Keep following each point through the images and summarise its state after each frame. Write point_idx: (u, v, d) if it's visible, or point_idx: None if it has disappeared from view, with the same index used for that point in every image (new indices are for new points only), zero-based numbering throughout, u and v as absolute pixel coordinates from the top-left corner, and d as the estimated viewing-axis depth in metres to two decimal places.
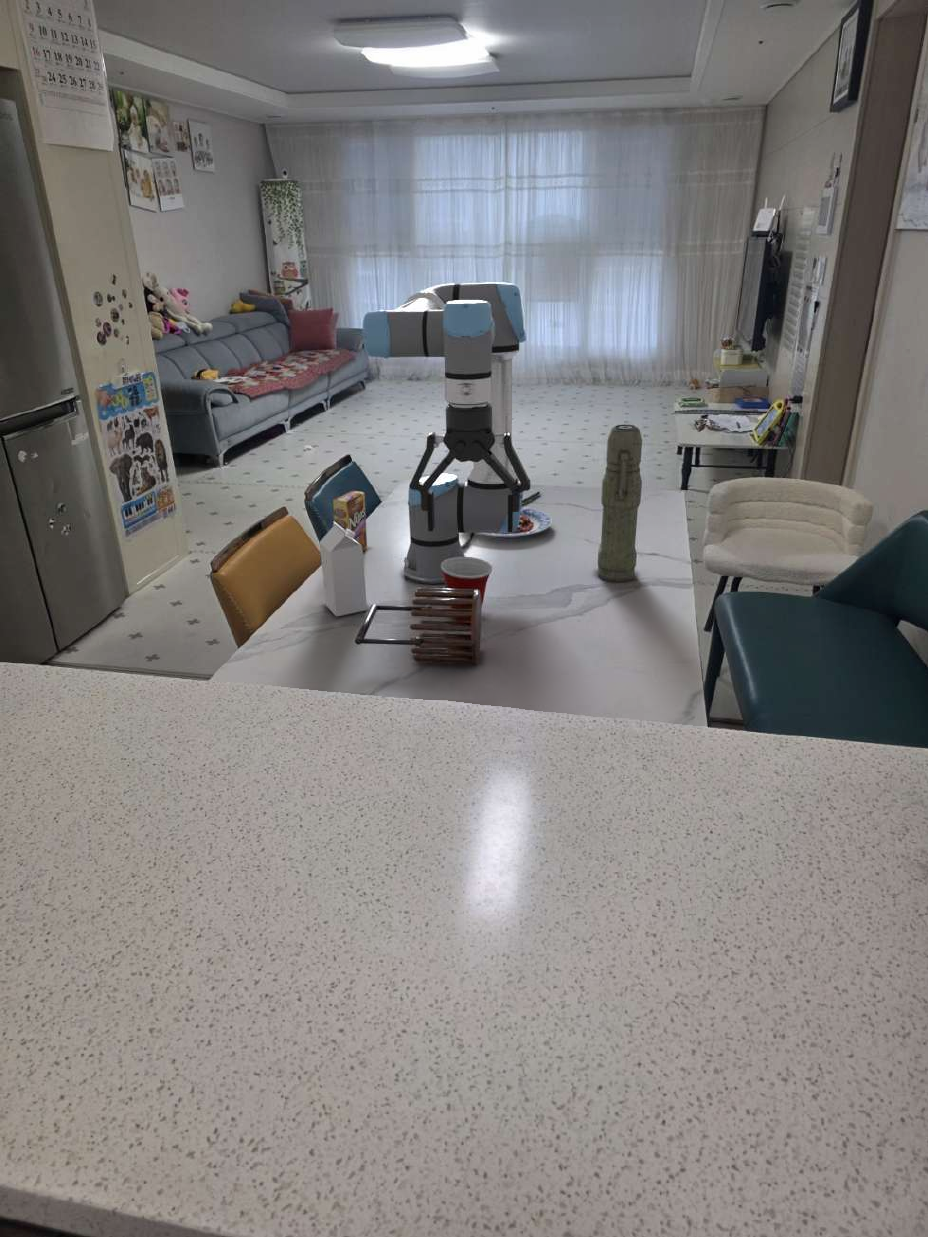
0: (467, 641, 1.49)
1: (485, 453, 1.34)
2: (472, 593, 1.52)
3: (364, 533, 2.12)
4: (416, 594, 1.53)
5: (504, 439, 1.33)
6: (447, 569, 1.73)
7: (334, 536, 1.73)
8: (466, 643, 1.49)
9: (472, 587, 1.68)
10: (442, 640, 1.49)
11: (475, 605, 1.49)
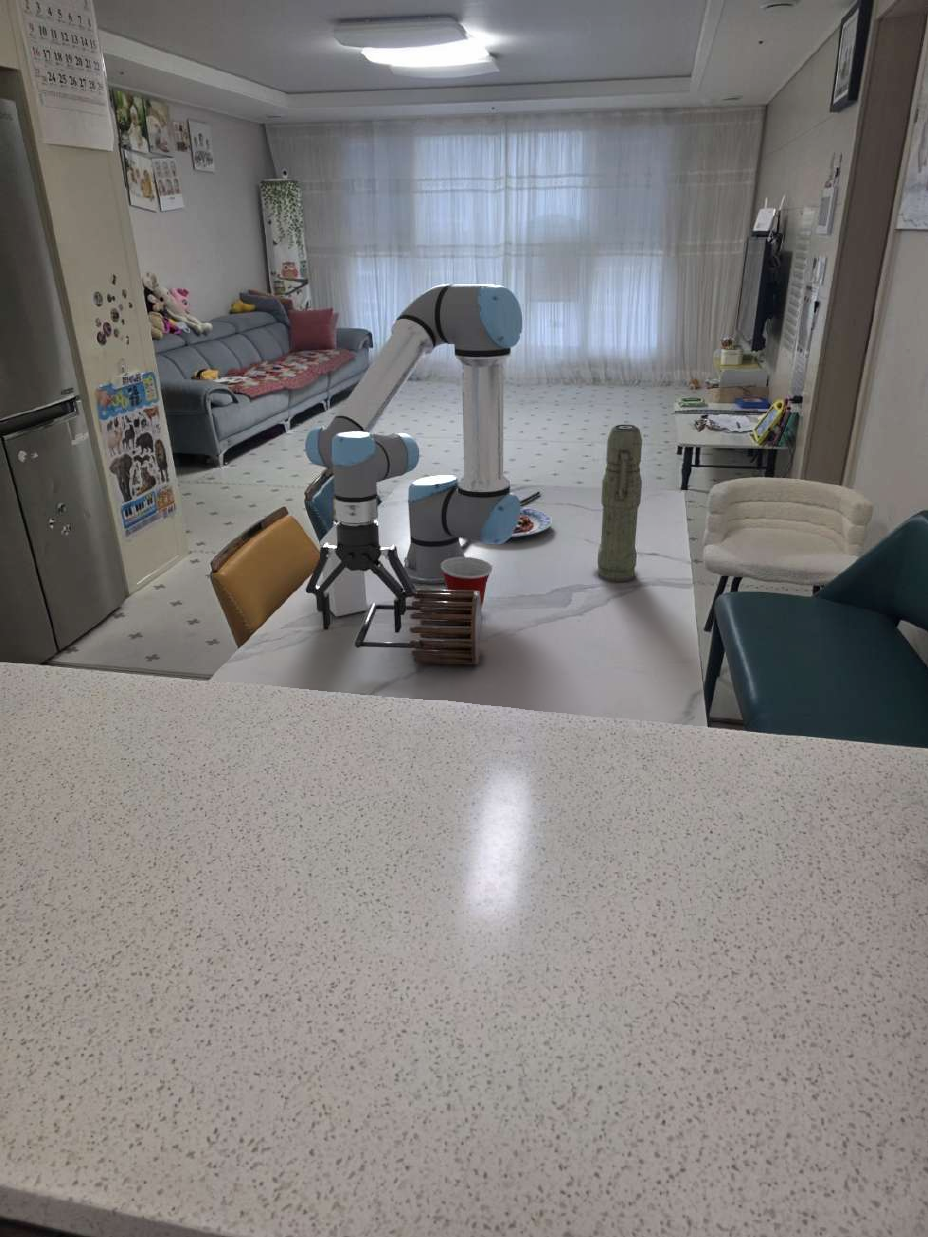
0: (467, 644, 1.49)
1: (372, 564, 1.49)
2: (472, 595, 1.51)
3: None
4: (415, 596, 1.52)
5: (388, 552, 1.49)
6: (447, 569, 1.73)
7: (334, 536, 1.73)
8: (466, 646, 1.49)
9: (472, 587, 1.68)
10: (442, 643, 1.49)
11: (475, 608, 1.49)
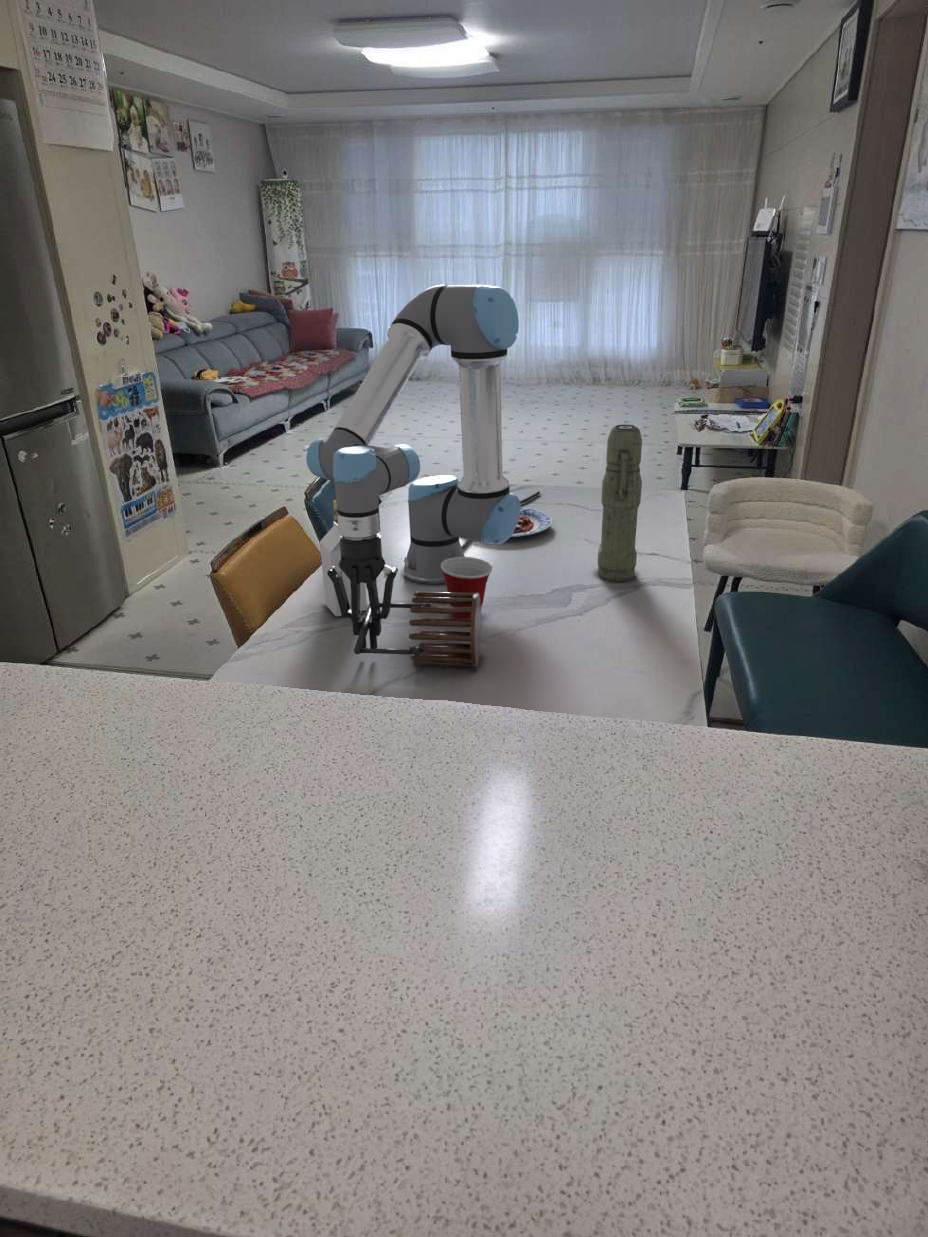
0: (466, 650, 1.48)
1: (370, 580, 1.51)
2: (471, 599, 1.50)
3: None
4: (414, 601, 1.51)
5: (390, 573, 1.51)
6: (447, 569, 1.73)
7: (334, 536, 1.73)
8: (465, 652, 1.48)
9: (472, 587, 1.68)
10: (441, 649, 1.49)
11: (474, 614, 1.48)
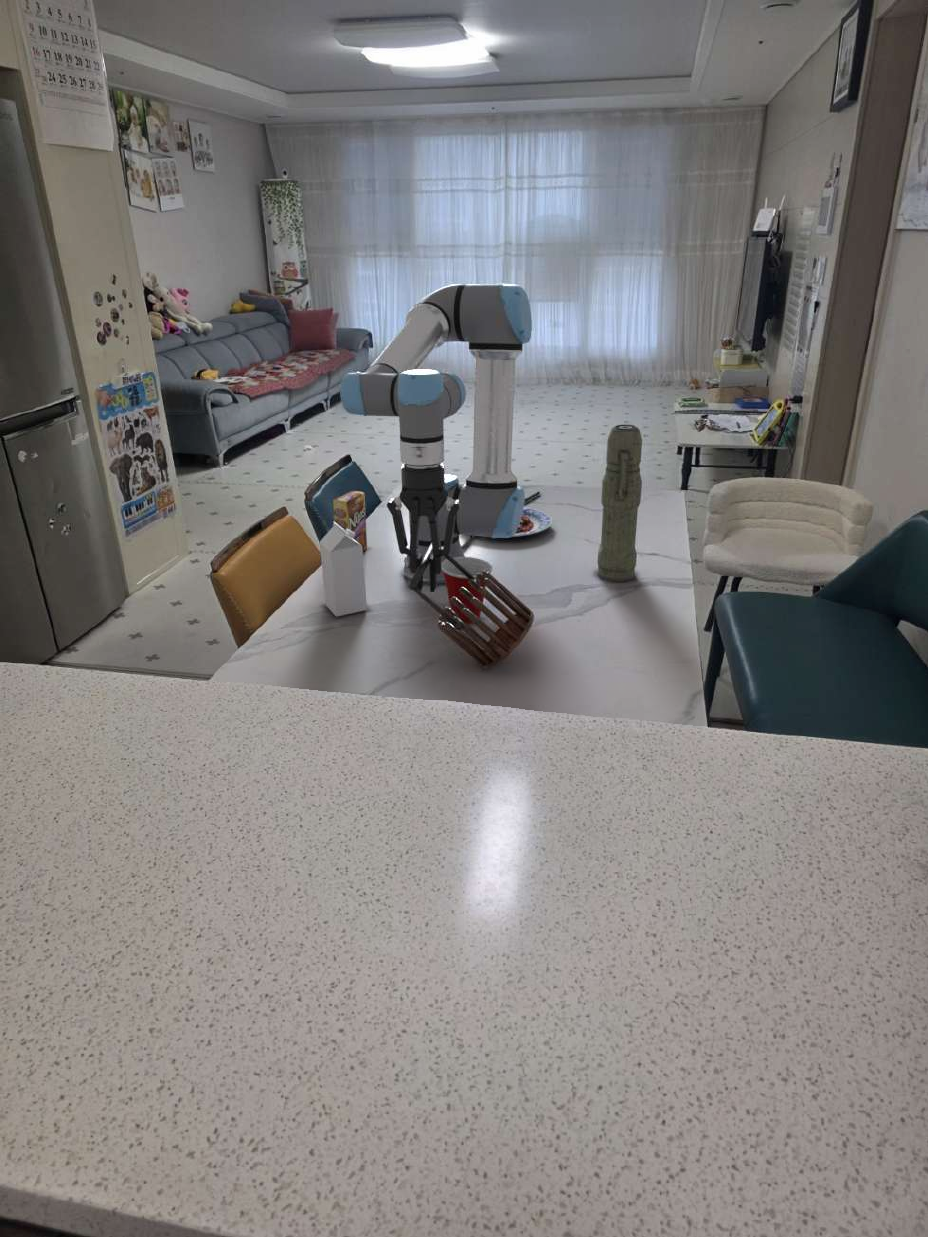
0: (496, 656, 1.48)
1: (432, 512, 1.44)
2: (529, 618, 1.50)
3: (364, 533, 2.12)
4: (486, 582, 1.47)
5: (453, 506, 1.44)
6: (447, 569, 1.73)
7: (334, 536, 1.73)
8: (493, 656, 1.48)
9: (472, 587, 1.68)
10: (478, 640, 1.47)
11: (525, 633, 1.48)
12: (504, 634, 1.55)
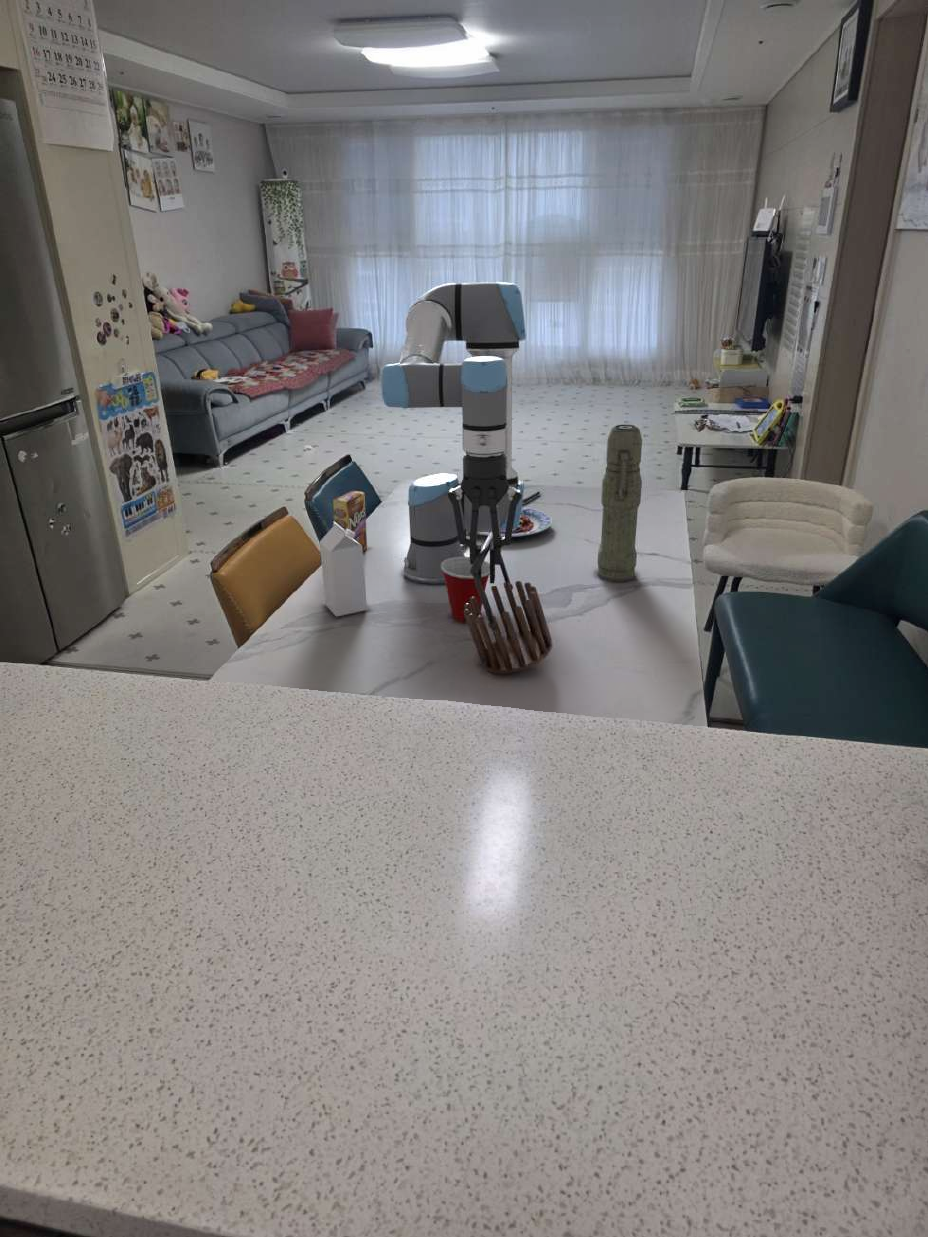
0: (509, 666, 1.49)
1: (494, 502, 1.42)
2: (550, 644, 1.53)
3: (364, 533, 2.12)
4: (533, 596, 1.48)
5: (516, 495, 1.42)
6: (447, 569, 1.73)
7: (334, 536, 1.73)
8: (506, 666, 1.49)
9: (472, 587, 1.68)
10: (502, 645, 1.47)
11: (543, 657, 1.51)
12: None
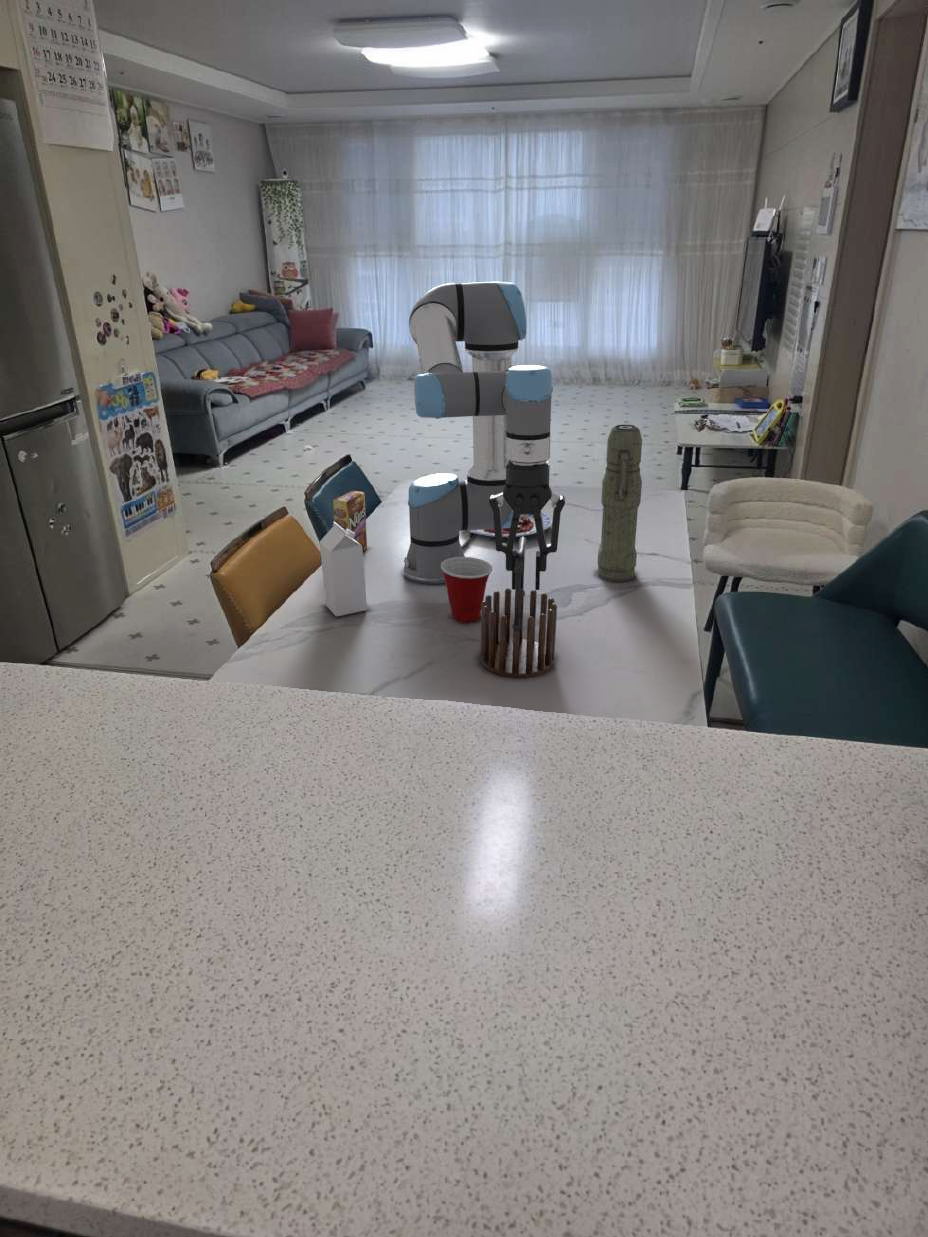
0: (516, 670, 1.50)
1: (537, 510, 1.42)
2: (553, 657, 1.56)
3: (364, 533, 2.12)
4: (554, 608, 1.51)
5: (559, 502, 1.42)
6: (447, 569, 1.73)
7: (334, 536, 1.73)
8: (514, 669, 1.50)
9: (472, 587, 1.68)
10: (517, 648, 1.48)
11: (547, 669, 1.53)
12: None
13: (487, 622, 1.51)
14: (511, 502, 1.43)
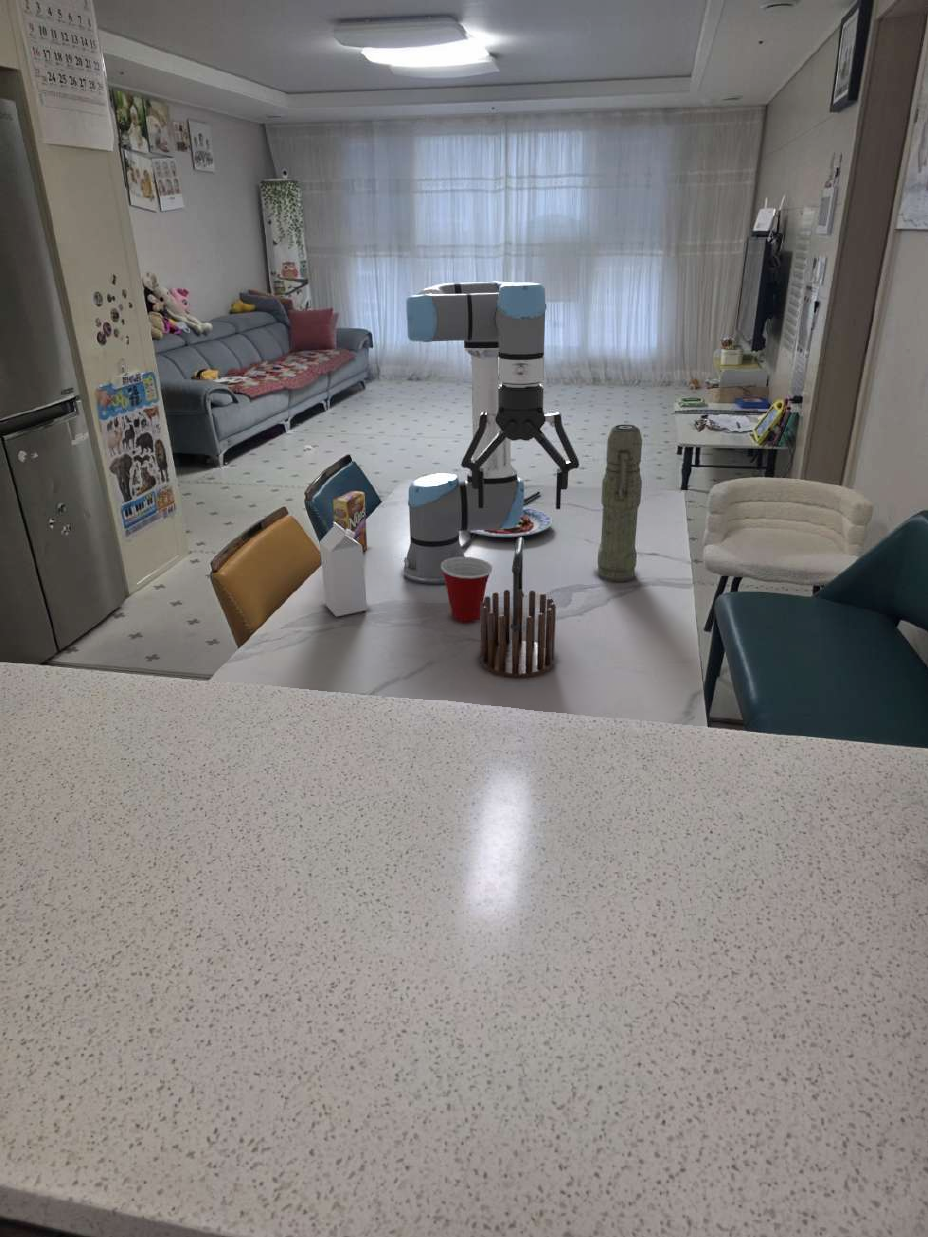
0: (516, 670, 1.51)
1: (536, 432, 1.38)
2: (553, 657, 1.56)
3: (364, 533, 2.12)
4: (553, 607, 1.51)
5: (555, 418, 1.37)
6: (447, 569, 1.73)
7: (334, 536, 1.73)
8: (514, 670, 1.50)
9: (472, 587, 1.68)
10: (517, 648, 1.49)
11: (547, 669, 1.53)
12: None
13: (486, 623, 1.52)
14: (504, 427, 1.39)
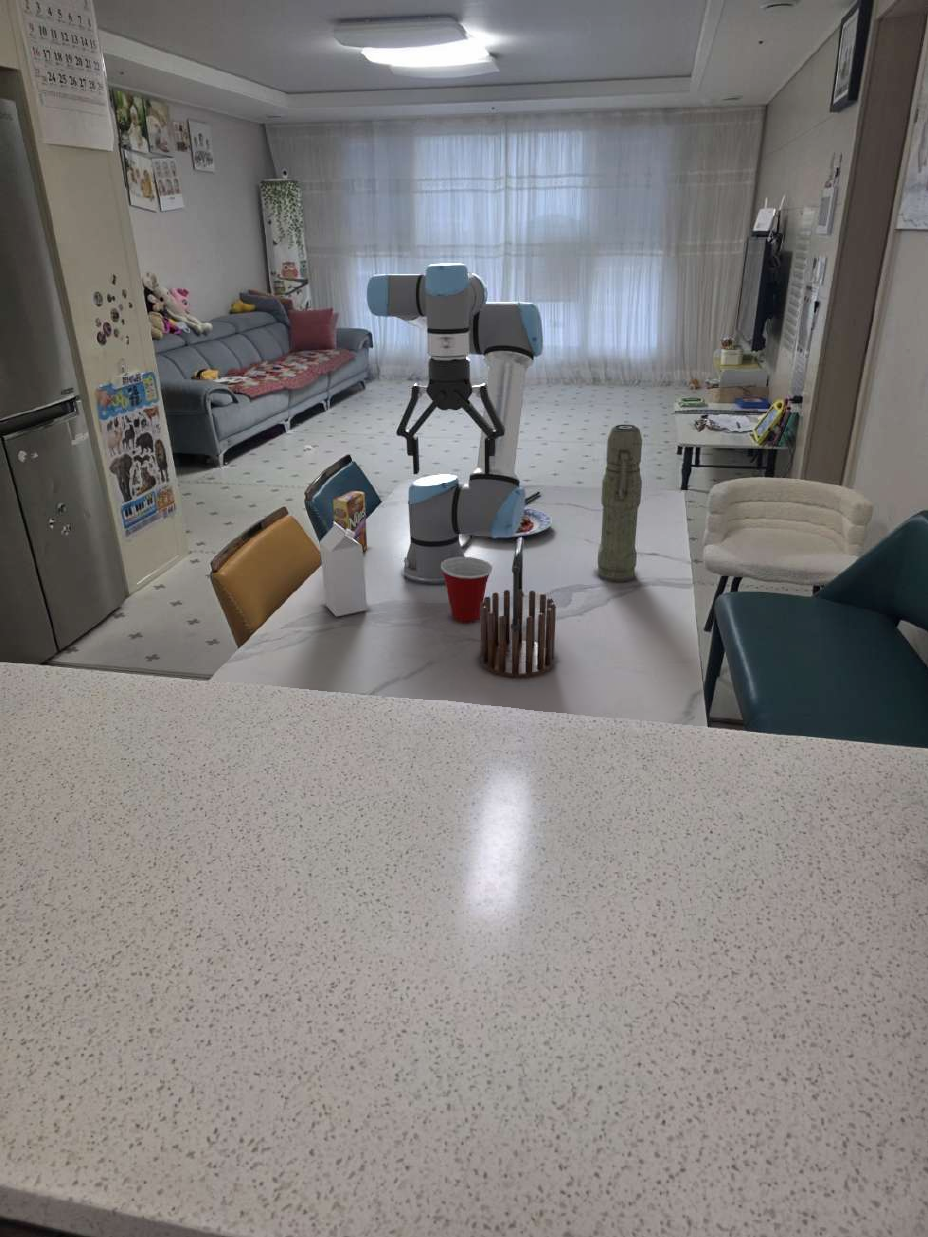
0: (516, 670, 1.51)
1: (463, 402, 1.50)
2: (553, 657, 1.56)
3: (364, 533, 2.12)
4: (553, 607, 1.51)
5: (480, 389, 1.49)
6: (447, 569, 1.73)
7: (334, 536, 1.73)
8: (514, 670, 1.50)
9: (472, 587, 1.68)
10: (517, 648, 1.49)
11: (547, 669, 1.53)
12: None
13: (486, 623, 1.52)
14: (434, 398, 1.51)
